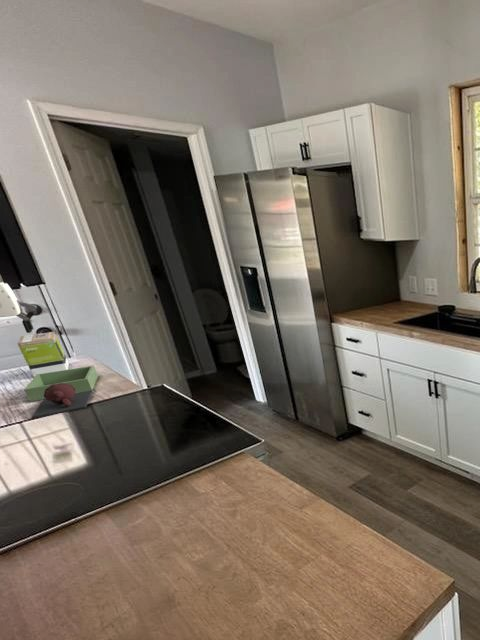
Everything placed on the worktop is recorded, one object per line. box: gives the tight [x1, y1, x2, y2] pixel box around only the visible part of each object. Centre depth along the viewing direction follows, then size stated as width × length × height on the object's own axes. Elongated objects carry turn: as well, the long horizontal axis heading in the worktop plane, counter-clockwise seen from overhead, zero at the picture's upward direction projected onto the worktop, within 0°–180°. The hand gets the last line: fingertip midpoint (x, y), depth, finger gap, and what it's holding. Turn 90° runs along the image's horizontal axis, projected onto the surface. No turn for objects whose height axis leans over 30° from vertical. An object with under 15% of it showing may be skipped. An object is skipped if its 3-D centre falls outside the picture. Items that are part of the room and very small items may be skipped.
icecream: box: [44, 383, 75, 407], centre depth 137 cm, size 7×7×15 cm
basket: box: [23, 365, 99, 402], centre depth 152 cm, size 16×20×4 cm
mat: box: [31, 390, 93, 419], centre depth 138 cm, size 12×18×1 cm, turn 39°
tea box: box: [17, 331, 70, 378], centre depth 168 cm, size 15×10×15 cm, turn 44°
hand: (7, 334), depth 132 cm, fingers open, 9 cm apart
